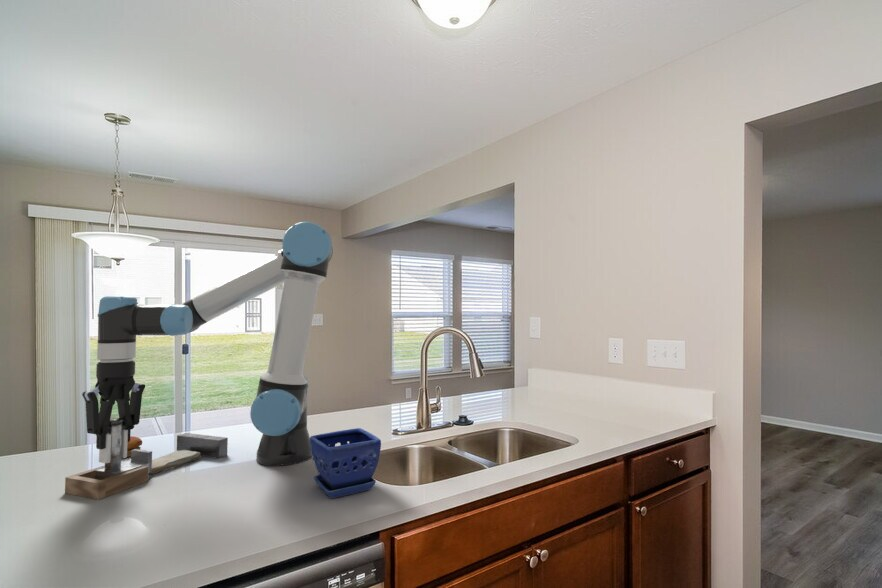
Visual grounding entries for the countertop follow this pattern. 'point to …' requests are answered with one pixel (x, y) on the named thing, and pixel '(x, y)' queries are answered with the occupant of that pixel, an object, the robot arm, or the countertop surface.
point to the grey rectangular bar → (203, 444)
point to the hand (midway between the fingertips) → (113, 459)
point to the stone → (173, 460)
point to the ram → (115, 465)
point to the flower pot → (345, 461)
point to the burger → (133, 444)
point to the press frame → (104, 482)
